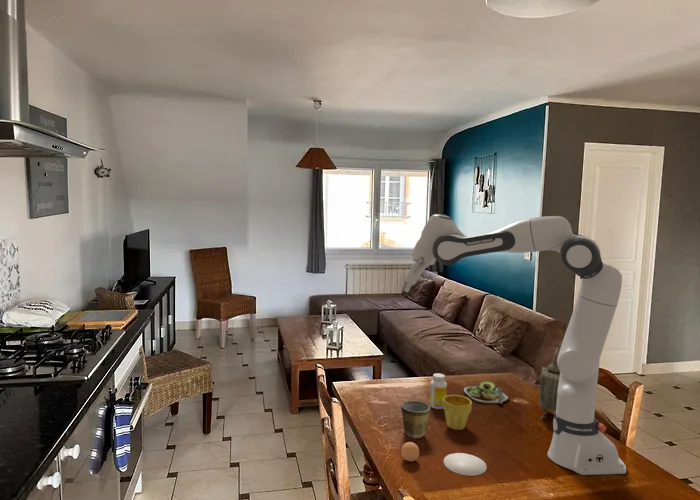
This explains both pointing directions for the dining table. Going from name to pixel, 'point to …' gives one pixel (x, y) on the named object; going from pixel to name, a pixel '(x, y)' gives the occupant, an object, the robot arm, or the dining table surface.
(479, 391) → the avocado toast plate
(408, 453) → the ball
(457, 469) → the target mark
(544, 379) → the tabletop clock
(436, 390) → the supplement bottle
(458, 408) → the plant pot
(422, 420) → the ceramic cup
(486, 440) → the dining table surface
